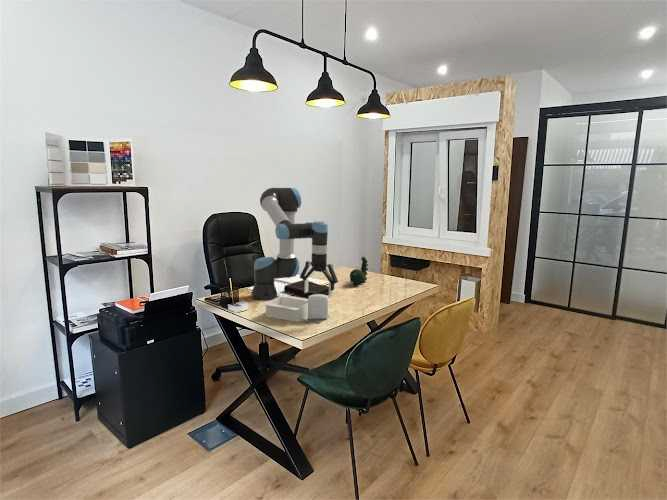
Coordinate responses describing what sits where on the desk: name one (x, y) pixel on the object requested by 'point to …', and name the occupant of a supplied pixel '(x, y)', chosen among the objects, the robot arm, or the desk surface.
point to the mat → (316, 320)
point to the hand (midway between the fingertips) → (318, 294)
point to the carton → (287, 308)
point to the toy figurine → (359, 273)
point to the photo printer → (317, 306)
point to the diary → (313, 289)
